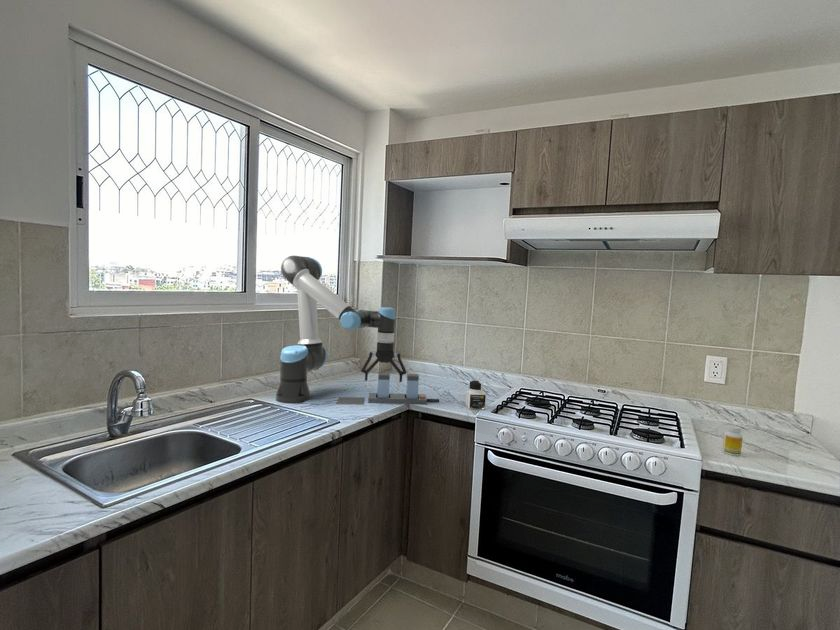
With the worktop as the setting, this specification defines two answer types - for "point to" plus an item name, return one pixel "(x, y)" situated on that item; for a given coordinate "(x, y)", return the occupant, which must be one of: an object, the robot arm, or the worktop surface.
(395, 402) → the strip
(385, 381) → the plug
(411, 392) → the twin plug
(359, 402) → the mat
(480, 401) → the medicine bottle
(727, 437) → the supplement bottle
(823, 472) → the worktop surface
